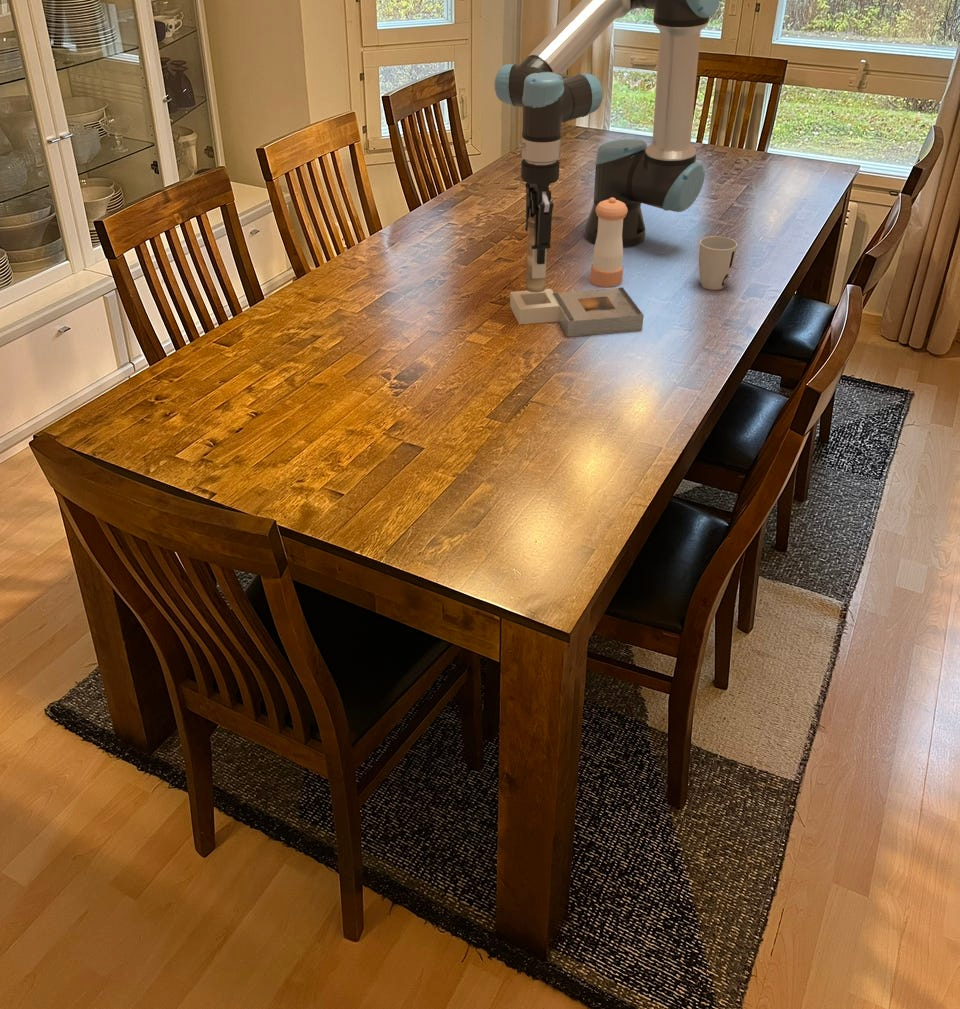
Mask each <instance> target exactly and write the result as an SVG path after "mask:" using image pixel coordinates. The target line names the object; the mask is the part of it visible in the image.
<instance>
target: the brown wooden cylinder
mask: <svg viewBox="0 0 960 1009" xmlns="http://www.w3.org/2000/svg"><path fill="white" fill-rule="evenodd" d="M527 233H528V236H526V237H527V238H526V239H527V240H526V241H527V242H526V244H527V246H526V270H525V271H526V272H525V274H526V276H525V277H526V278H525V291H529V292H534V293H538V292H542V291H544V290H545V289H546V278H532V265H533V249H532V248H531V246H534V245H535V221H534V216H531V217H529V218H528V231H527Z"/></svg>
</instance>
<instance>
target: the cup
mask: <svg viewBox="0 0 960 1009" xmlns="http://www.w3.org/2000/svg"><path fill="white" fill-rule="evenodd" d="M737 248H738V242H737V241H735V240H734V239H732V238H729V237H725V236H719V235H718V236H717V235H713V236H706V237H703V238H702V239H700V240H699V248H698V249H699V251H698V252H699V253H698V270H699V271H698V272H699V273H698V274H699V279H700V285H701V287H702V288H704V289H706V290H711V291H718V290H722V289H724V287H725V285H726V283H727V282H728V279H729V277H730V275H731V270H732V268H733V265H734V261H735V258H736V252H737Z"/></svg>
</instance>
